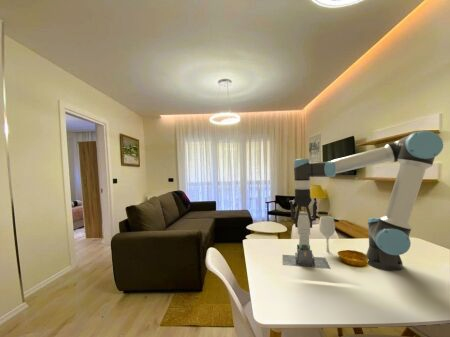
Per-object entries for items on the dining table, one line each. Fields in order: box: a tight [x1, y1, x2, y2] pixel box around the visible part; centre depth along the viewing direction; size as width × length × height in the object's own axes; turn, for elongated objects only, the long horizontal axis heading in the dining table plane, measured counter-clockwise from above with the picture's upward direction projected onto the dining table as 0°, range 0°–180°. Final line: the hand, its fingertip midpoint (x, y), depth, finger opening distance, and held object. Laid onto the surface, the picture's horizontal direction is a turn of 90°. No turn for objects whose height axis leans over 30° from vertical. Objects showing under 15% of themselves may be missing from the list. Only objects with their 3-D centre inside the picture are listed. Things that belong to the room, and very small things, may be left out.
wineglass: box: [318, 215, 336, 254], centre depth 125 cm, size 9×9×21 cm
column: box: [298, 211, 311, 250], centre depth 113 cm, size 5×5×19 cm
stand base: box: [282, 243, 331, 270], centre depth 113 cm, size 22×14×10 cm, turn 76°
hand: (303, 233), depth 113 cm, fingers closed on column, 4 cm apart
